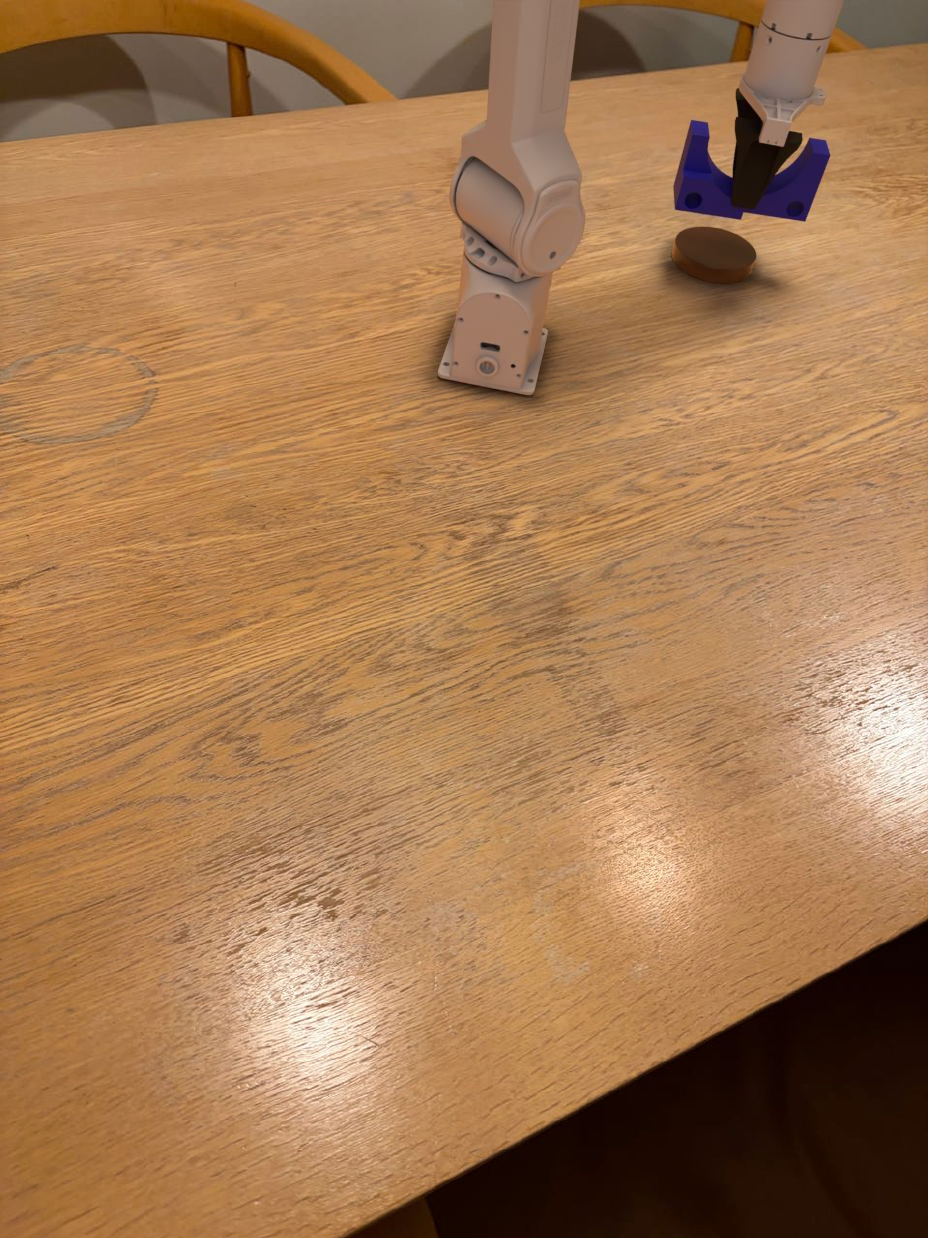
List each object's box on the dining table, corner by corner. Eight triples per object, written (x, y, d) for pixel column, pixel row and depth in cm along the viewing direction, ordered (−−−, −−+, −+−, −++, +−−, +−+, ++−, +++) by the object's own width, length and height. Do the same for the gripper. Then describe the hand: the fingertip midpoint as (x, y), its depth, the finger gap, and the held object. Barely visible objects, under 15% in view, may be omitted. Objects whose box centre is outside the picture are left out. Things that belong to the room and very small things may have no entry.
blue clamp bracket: (674, 209, 88) (693, 141, 84) (673, 186, 91) (691, 119, 87) (807, 229, 88) (832, 162, 84) (801, 205, 91) (826, 140, 87)
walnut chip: (751, 290, 94) (757, 275, 93) (669, 274, 95) (673, 259, 94) (751, 248, 100) (756, 234, 98) (673, 234, 100) (676, 219, 99)
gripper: (852, 69, 74) (789, 239, 84) (841, 4, 83) (785, 165, 93) (758, 52, 74) (707, 224, 84) (758, -11, 83) (711, 151, 94)
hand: (743, 192), depth 89 cm, fingers closed on blue clamp bracket, 5 cm apart
